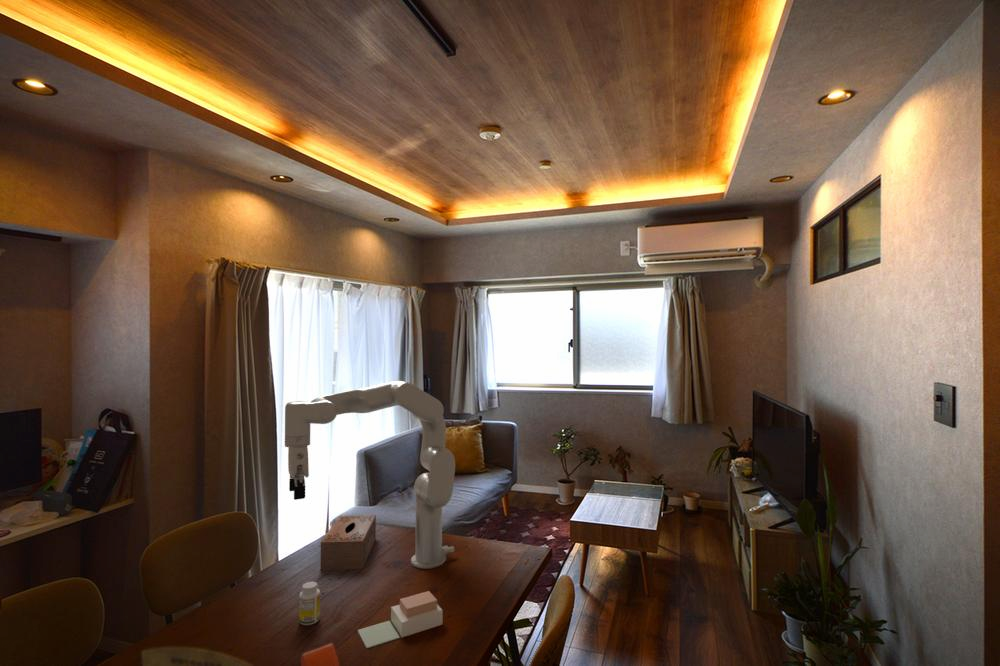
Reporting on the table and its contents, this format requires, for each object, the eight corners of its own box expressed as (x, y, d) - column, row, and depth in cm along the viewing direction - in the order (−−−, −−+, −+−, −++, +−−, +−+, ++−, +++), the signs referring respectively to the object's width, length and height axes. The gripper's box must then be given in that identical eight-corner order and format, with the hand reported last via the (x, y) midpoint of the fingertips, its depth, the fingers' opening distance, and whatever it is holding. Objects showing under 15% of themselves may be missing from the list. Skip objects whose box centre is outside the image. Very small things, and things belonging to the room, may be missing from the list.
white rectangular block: (430, 609, 146) (430, 595, 146) (442, 624, 139) (442, 610, 139) (390, 621, 140) (391, 607, 140) (401, 637, 133) (401, 622, 133)
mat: (389, 621, 140) (389, 620, 140) (399, 638, 132) (399, 636, 132) (357, 631, 135) (357, 629, 135) (366, 648, 128) (366, 647, 128)
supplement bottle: (313, 613, 144) (313, 578, 144) (323, 620, 141) (324, 584, 141) (295, 621, 140) (295, 585, 140) (305, 628, 136) (305, 591, 137)
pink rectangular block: (428, 599, 145) (429, 590, 145) (437, 608, 140) (437, 600, 140) (399, 607, 140) (399, 599, 140) (406, 617, 135) (406, 608, 135)
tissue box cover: (362, 569, 172) (362, 541, 172) (320, 571, 171) (320, 542, 171) (375, 539, 198) (375, 515, 198) (339, 540, 197) (339, 515, 197)
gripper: (315, 444, 151) (314, 500, 150) (305, 434, 165) (304, 485, 165) (288, 446, 147) (288, 504, 146) (281, 437, 162) (280, 489, 161)
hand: (297, 494), depth 156 cm, fingers open, 9 cm apart
